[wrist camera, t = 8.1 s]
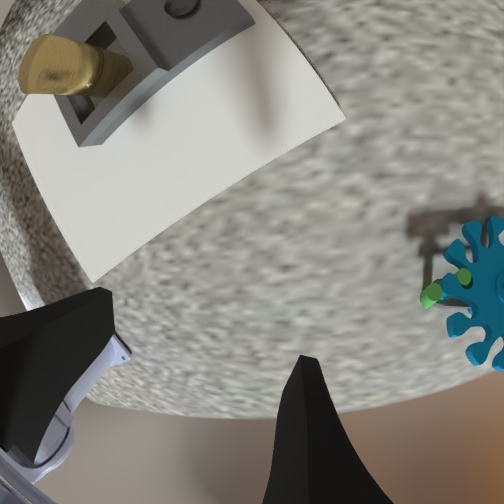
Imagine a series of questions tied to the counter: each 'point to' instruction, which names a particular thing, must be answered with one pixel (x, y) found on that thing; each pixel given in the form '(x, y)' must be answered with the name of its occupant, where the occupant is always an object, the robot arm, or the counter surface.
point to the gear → (474, 289)
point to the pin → (71, 68)
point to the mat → (175, 142)
